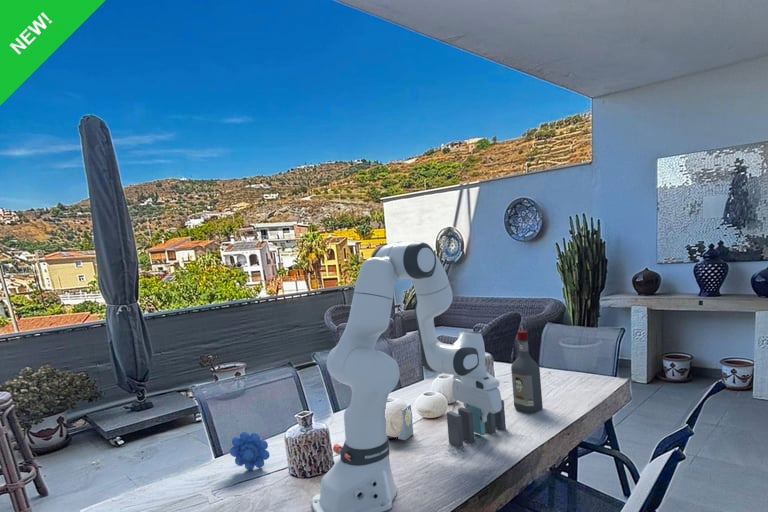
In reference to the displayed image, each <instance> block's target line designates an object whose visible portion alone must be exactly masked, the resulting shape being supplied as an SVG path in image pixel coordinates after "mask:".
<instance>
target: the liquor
mask: <svg viewBox="0 0 768 512" xmlns="http://www.w3.org/2000/svg"><path fill="white" fill-rule="evenodd" d="M528 336H529V335H528V331H527V330H518V331H517V341H518V357H517V358H516V359H515V360H514V361H513V362H512V363H511V366H510V369H511V382H512V396H513V406H514V408H515V410H516V411H517V412H521V413H525V414H536V413H537V412H539V411H542V409H543V407H544V406H543V397H542V396H543V394H542V385H541V383H542V382H541V380H542V379H541V370H540V369H541V368H540V366H539V364H538V363H537V362H536V361H535V360H534V359H533V358H532V357H531V355H530V353H529V352H530V351H529V341H528V340H529V338H528Z"/></svg>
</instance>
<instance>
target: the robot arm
mask: <svg viewBox="0 0 768 512" xmlns="http://www.w3.org/2000/svg"><path fill="white" fill-rule="evenodd" d="M398 280H401V281H402V280H407V281H408V280H411V281H412V285H413V289H414V292H415V294H416V295H415V296H416V302H417V303H416V304H415V308H414V316H415V322H416V328H417V333H418V338H419V344H420V359H421V363H422V366H423V367H424V368H425V369H426V370H427V371H428V372H431V373H441V374H442V373H443V374H447V375H451V376H452V375H453V377H452V379H453V381H452V384H451V385H452V389H451V390H452V391H451V394H452V398H453V399H454V400H455V401H458V402H461V403H463V406H464V407H463V408H465V409H468V410H469V405H471V406H474V407H477V408H479V409H481V411H482V412H483V414H482V416H480V421H482V422H486V421H487V415H488V413H489V412H490V413H493V414H494V413H497V412H499V411H500V410H501V409H502V402H501V399H502V395H501V391H500V389H499V386H500V381H499V379H497V378H496V377H494V376H492V374H490V373H489V372H488V371H487V366H486V362H485V361H486V349H485V342H484V338H483V334H481V333H480V332H479V331H471V330H470V331H469V330H461V331H459V334H458V338H457V339H456V341H454V343H452V344H450V343H444V342H442V341H440V340H439V339H438V337H437V333H436V327H435V321H434V319H435V318H436V317H438V316H440V315H442V314H443V313H445V312H446V311H447V310H448V309H449V308H450V306H451V305H452V302H453V299H454V298H453V297H454V296H453V290H452V286H451V284H450V281H449V278H448V275H447V272H446V270H445V268H444V265H443V264H442V262H441V261H440V258H439V257H438V256H437V255H436V253H435V251H434V249H433V248H432V247H431V246H430V245H429V244H428V243H426V242H422V241H418V240H417V241H412V242H411V241H405V242H404V241H396V242H392V243H391V242H390V243H384V244H382V245H379V246H378V247H376V248H375V249H374V250H373V251H372V254H371V256H370V257H369V258H367V259H365V260H364V261H363V263H362V265H361V266H360V269H359V272H358V276H357V279H356V280H355V281H356V282H355V286H354V289H353V296H352V301H351V306H350V310H349V315H348V319H347V323H346V326H345V328H344V330H343V334H342V335H341V337H340V339H339V341H338V342H337V344H336V345H335V347H333V348H332V349H331V350H330V351H329V353H328V355H327V357H326V364H325V365H326V369H327V370H326V371H328V374H329V375H330V376H331V377H332V378H333V379H335V381H337V382H339V383H340V384H343V385H346V386H347V387H350V389H351V399H350V404H349V405H348V406H347V407H346V408H345V410H344V412H343V422H344V434H345V435H344V436H345V440H344V443H343V446H341V445H340V444H338V443H335V444H334V445H333V446H332V451H333V452H334V453H335V454H336V455H340V456H339V457H340V458H338V460H337V461H336V462H335V463H334V465H332V466H331V468H330V469H328V471H327V472H326V473H325V474H324V475H323V476H322V479H321V481H320V488H319V489H320V490H319V493H317V494H316V495H315V494H314V496H313V497H312V500H311V507H312V511H313V512H386V511H389V510H390V509H392V508H393V500H394V499H395V497H396V495H397V492H398V489H397V485H396V483H395V479H394V477H393V473H392V469H391V463H390V440H389V437H387V434H386V418H385V409H386V406H387V402H388V398H389V394H390V393H391V392H392V391H393V390H394V389H395V388H396V386H397V385H398V383H399V380H400V371H401V370H400V367H399V364H398V362H397V360H396V359H395V358H393V356H391V355H389V354H387V353H386V352H384V351H382V350H377V349H375V346H376V343H377V342H378V340H379V338H380V336H381V335H382V334H383V333H384V332H386V331H387V330H388V328H389V326H390V319H391V314H392V307H393V302H394V295H395V294H394V293H395V285H396V282H397V281H398Z"/></svg>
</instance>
